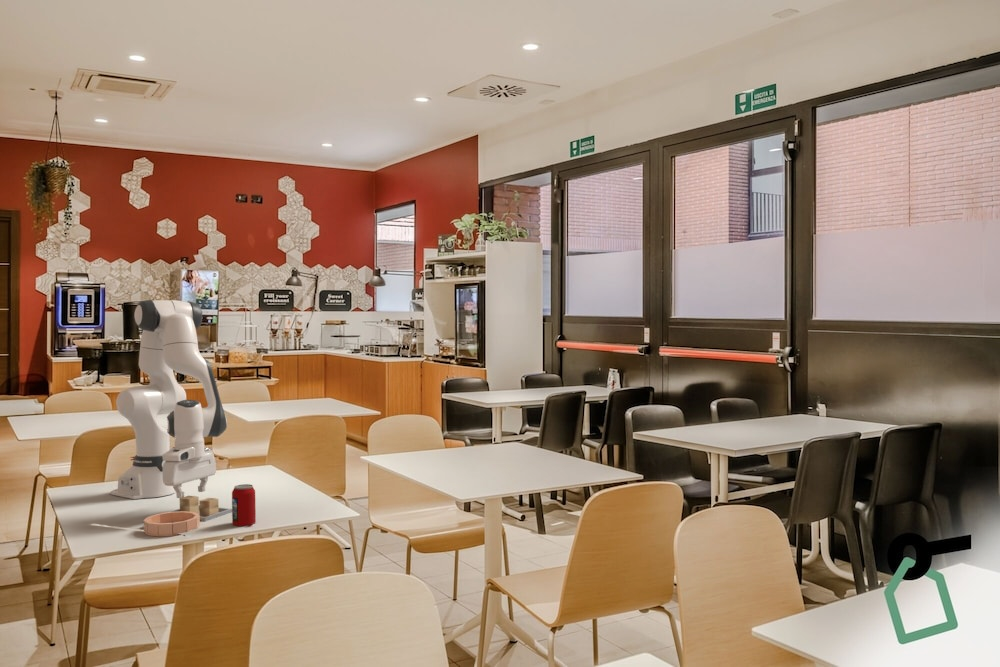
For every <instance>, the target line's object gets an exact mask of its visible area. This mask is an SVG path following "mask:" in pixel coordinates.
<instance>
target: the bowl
mask: <svg viewBox="0 0 1000 667" xmlns="http://www.w3.org/2000/svg"><path fill="white" fill-rule="evenodd" d="M200 524H201V521H200V515H199V514H198V513H196V512H188V511H177V512H171V511H168V512H167V511H166V512H159V513H156V514H152V515H149V516H147V517H146V518H145V519H143V531H144V534H145V535H147V536H150V537H157V538H159V537H161V538H162V537H163V538H164V537H165V538H166V537H176V536H181V535H183V534H182V533H186V532H191V531H193V530H195V529H196V530H197V529H198V528H199V526H200Z"/></svg>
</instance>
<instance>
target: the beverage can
mask: <svg viewBox="0 0 1000 667" xmlns="http://www.w3.org/2000/svg"><path fill="white" fill-rule="evenodd" d="M231 509H232V512H231V514H232V515H231V516H232V518H231V519H232V520H231V521H232V525H233V526H235V527H246V528H249V527H252V526H253V525H254V524H255V523H256V516H257V515H256V489H255V488H254V485H253V484H249V483H248V484H247V483H246V484H237V485H235V486H234V487H233V489H232V492H231Z"/></svg>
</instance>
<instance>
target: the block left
mask: <svg viewBox="0 0 1000 667" xmlns="http://www.w3.org/2000/svg"><path fill="white" fill-rule="evenodd" d="M179 509H180V511H188V512H196V513H198V512H199V496H197V495H196V496H195V495H187V496H184V497H183V498H179Z"/></svg>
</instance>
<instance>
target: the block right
mask: <svg viewBox="0 0 1000 667" xmlns="http://www.w3.org/2000/svg"><path fill="white" fill-rule="evenodd" d="M218 507H219V498H216V497H206V498H203V499H200V500H199V510H200V516H202V517H207V516H210V515H213V514H216V513H219V508H220V507H219V508H218Z"/></svg>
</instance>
